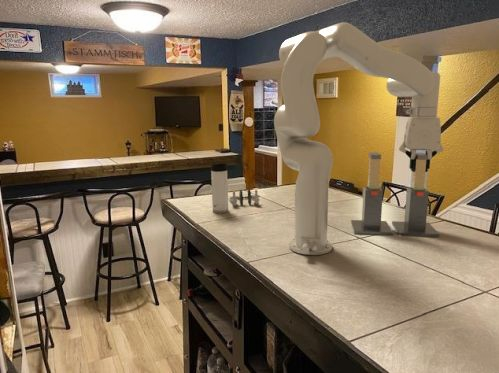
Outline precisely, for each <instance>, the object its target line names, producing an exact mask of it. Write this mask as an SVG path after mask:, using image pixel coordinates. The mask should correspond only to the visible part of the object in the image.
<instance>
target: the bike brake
mask: <svg viewBox="0 0 499 373" xmlns="http://www.w3.org/2000/svg"><path fill="white" fill-rule="evenodd" d="M254 193H255V194H252V191H251V190H250V189H247V195H243V191H242V189H239V192H238V194H239V195H236V191H234V190H233V191H232V196H230V197H228V200H229V202H231V203H232V205H233V206H236V205H237V203H238V200H239V204H240V206H241V207H243V205H244V204H243V203H244V200H245V199H246V200H247V203H248V205H249V206H252V201H253V202H254V203H255V205H259V203H260V194H259V193H258V190H257V189H255V190H254Z"/></svg>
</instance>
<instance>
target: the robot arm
mask: <svg viewBox="0 0 499 373" xmlns="http://www.w3.org/2000/svg"><path fill="white" fill-rule="evenodd" d="M336 57H337V58H339V59H341V60H343V61H344V62H346V63H347V64H349V65H351V66H352V67H353V68H355V69H356V70H358V71H359V72H360V73H362V74H363V75H364V74H365V75H367V76H370V77H376V78H384V79H387V81H386V85H385V87H386V91H387V92H388V93H389V94H390V95H391V96H394V97H397V98H408V97H411V104H410V105H411V106H410V108H409V109H406V111H405V114H406V115H409V117H408V119H407V121H406V125H405V131H404V138H403V141H402V143H401V145H400V146H399V148H398V151H400V152H402V153H403V154H405V155H407V157H408V158H409V166H408V167H409V169H410V171H411V172H412V173H413V172H415V170H416V159H415V154H416V153H417V151H424V152H425V153H424V154H426V155H428V160H426V170H425V173H427V172H429V169H430V168H431V166H430V164H431V160H432V158H434V157H435V156H436V155H437V154H439V153H442V152H443V151H444V148H443V146H442V144H441V143H442V142H441V141H442V139H441V137H442V135H441V134H442V132H441V130H442V127H441V117H437V116H438V106H439V95H440V82H441V74H440V73H439V72H437V71H431V70H430V69H429V68H428V67H427V66H426V65H424V64H423V63H422V62H420V61H419V60H417V59H416V58H414V57H412V56H410V55H407V54H404V53H401V52H398V51H396V50H393V49H389V48H387V47H385V46H382V45H381V44H379V43H378V42H376V41H375V40H374V39H372V38H371V37H369V36H368V35H367V34H365V33H364V32H363V31H362V30H361V29H359V28H357V27H356V26H354V25H353V24H351V23H349V22H343V21H342V22H339V23H335V24H332V25H329V26H327V27H324V28H321V29H318V30H316V31H313V30H311V31H310V30H309V31H306V32H302V33H301V34H300V33H299V34H298V35H296V36H295V35H294V36H293V37H290V38H288V39H285V40H284V42H282V44H281V46H280V48H279V52H278V58H279V60H280V62H281V64H282V65H283V68H282V72H281V77H280V89H281V95H282V100H283V104H282V105H281V106H280V107H278V109H277V111H276V112H275V114H274V118H273V126H274V130H275V135H276V139H277V142H278V147H279V151H280V155H281V158H282V160H283V163H284V164H285V165H286V166H287V167H289V168H290V169H292V170H294V171H297V172H298V175H297V178H296V181H295V187H294V238H293V239H291V240H290V241H289V243H288V245H289V246H288V247H289V249H290V250H291V251H293V253H294V252H295V253H297V254H301V255H307V256H319V255H321V256H322V255H325V254H328V253H330V252H331V251H332V250H333V244H332V242H331V241H329V240H328V218H329V216H328V214H329V186H330V177H331V172H332V167H333V161H334V160H333V153H332V151H331V149H330V148H329V147H328V146H327V145H326V144H325V143H323V142H320V141H316V140H311V139H308V138H311V137H313V136H315V135H316V134H318V132H319V130H320V129H321V118H320V112H319V108H318V103H317V99H316V96H315V88H314V77H315V73H316V70H317V67H318V66H319V64H320V63H321V62H322V61H324V60H327V59H332V58H336Z"/></svg>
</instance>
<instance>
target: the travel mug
mask: <svg viewBox="0 0 499 373" xmlns="http://www.w3.org/2000/svg"><path fill="white" fill-rule="evenodd" d="M210 165H211V166H210V167H211V170H210V172H211V174H210V176H211V178H210V179H211V196H212V197H211V199H212V200H211V201H212V213H215V214H225V213H228V212H229V199H228V198H229V187H228V186H229V183H228V163H227V162H218V163H211V164H210Z"/></svg>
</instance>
